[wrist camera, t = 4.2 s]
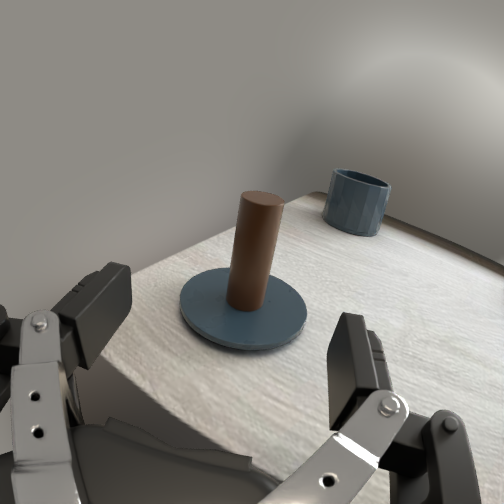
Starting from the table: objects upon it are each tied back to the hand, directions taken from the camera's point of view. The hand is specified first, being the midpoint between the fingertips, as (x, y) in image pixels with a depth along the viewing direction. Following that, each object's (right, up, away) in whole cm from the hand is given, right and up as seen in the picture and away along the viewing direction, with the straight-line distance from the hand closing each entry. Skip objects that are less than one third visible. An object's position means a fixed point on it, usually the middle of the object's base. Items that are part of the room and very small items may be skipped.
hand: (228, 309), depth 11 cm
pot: (+16, +6, +36) cm, 40 cm away
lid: (0, -2, +12) cm, 13 cm away
